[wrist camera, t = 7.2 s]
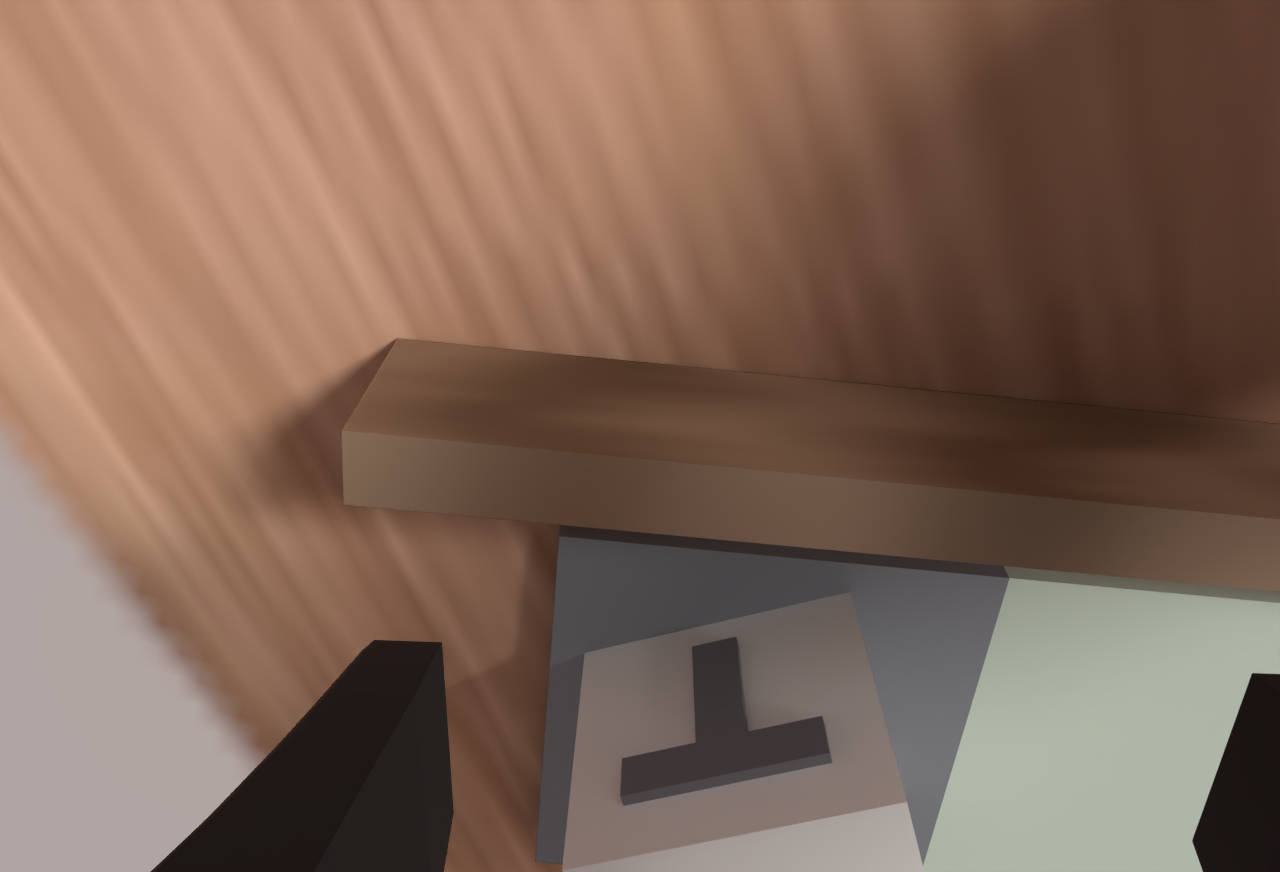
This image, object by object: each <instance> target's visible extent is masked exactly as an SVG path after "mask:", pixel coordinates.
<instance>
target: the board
mask: <svg viewBox="0 0 1280 872" xmlns="http://www.w3.org/2000/svg"><path fill="white" fill-rule="evenodd" d="M848 592H850V593H851V596H852V600H853V604H854V608H855V611H856V615H857V619H858V622H859V626H860V630H861V634H862V637H863V641H864V645H865V648H866V652H867V656H868V659H869V663H870V667H871V671H872V674H873V678H874V682H875V685H876V689H877V693H878V696H879V700H880V704H881V708H882V711H883V715H884V719H885V722H886V726H887V730H888V733H889V737H890V741H891V745H892V748H893V752H894V756H895V759H896V763H897V767H898V770H899V774H900V778H901V782H902V785H903V789H904V793H905V796H906V800H907V804H908V808H909V812H910V816H911V820H912V824H913V828H914V832H915V836H916V840H917V844H918V848H919V852H920V856H921V860H922V864H923V868H924V872H1203V871H1202V868H1201V865H1200V862H1199V859H1198V856H1197V854H1196V851H1195V848H1194V845H1193V842H1192V840H1193V837H1194V834H1195V831H1196V828H1197V826H1198V823H1199V820H1200V817H1201V814H1202V812H1203V809H1204V806H1205V803H1206V800H1207V798H1208V795H1209V792H1210V789H1211V786H1212V784H1213V781H1214V778H1215V775H1216V772H1217V770H1218V767H1219V764H1220V761H1221V759H1222V756H1223V753H1224V750H1225V747H1226V745H1227V742H1228V739H1229V736H1230V733H1231V731H1232V728H1233V725H1234V722H1235V719H1236V717H1237V714H1238V711H1239V708H1240V705H1241V703H1242V700H1243V697H1244V694H1245V691H1246V689H1247V686H1248V683H1249V680H1250V677H1251V675H1252V673H1264V674H1280V592H1277V591H1266V590H1256V589H1245V588H1234V587H1223V586H1213V585H1202V584H1191V583H1180V582H1170V581H1159V580H1148V579H1137V578H1127V577H1116V576H1105V575H1094V574H1084V573H1073V572H1062V571H1051V570H1041V569H1030V568H1019V567H1008V566H998V565H987V564H976V563H965V562H955V561H944V560H933V559H922V558H911V557H901V556H890V555H879V554H868V553H858V552H847V551H836V550H825V549H815V548H804V547H793V546H782V545H772V544H761V543H750V542H739V541H729V540H718V539H707V538H696V537H686V536H675V535H664V534H653V533H643V532H632V531H621V530H610V529H600V528H589V527H578V526H567V525H561V529H560V535H559V547H558V560H557V574H556V587H555V601H554V614H553V628H552V641H551V655H550V668H549V682H548V695H547V709H546V722H545V736H544V749H543V763H542V776H541V790H540V803H539V817H538V830H537V844H536V857H535V862H543V863H555V864H563V855H564V846H565V836H566V827H567V817H568V807H569V798H570V788H571V779H572V769H573V760H574V750H575V740H576V731H577V721H578V712H579V702H580V692H581V683H582V673H583V664H584V654H585V653H586V652H591V651H595V650H599V649H604V648H608V647H612V646H617V645H621V644H626V643H630V642H634V641H639V640H643V639H647V638H652V637H656V636H660V635H665V634H669V633H674V632H678V631H682V630H687V629H691V628H695V627H700V626H704V625H709V624H713V623H717V622H722V621H726V620H730V619H735V618H739V617H743V616H748V615H752V614H757V613H761V612H765V611H770V610H774V609H778V608H783V607H787V606H792V605H796V604H800V603H805V602H809V601H813V600H818V599H822V598H826V597H831V596H835V595H840V594H844V593H848Z"/></svg>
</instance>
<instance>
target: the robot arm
mask: <svg viewBox="0 0 1280 872" xmlns="http://www.w3.org/2000/svg"><path fill="white" fill-rule="evenodd" d="M452 818H453V798H452V783H451V769H450V754H449V739H448V725H447V710H446V696H445V681H444V666H443V652H442V643H439V642H412V641H385V640H374V641H373V642H371V643H370V644H369V645H368V646H367V647H366V648H364V649H363V650H362V651H361V652H360V654H359V655H358V656H357V657H356V658H355V659H354V660H353V662H352V663H351V664H350V665H349V666H348V667H347V668H346V669H345V671H344V672H343V673H342V674H341V675H340V676H339V677H338V679H337V680H336V681H335V682H334V683H333V684H332V685H331V687H330V688H329V689H328V690H327V691H326V692H325V693H324V694H323V696H322V697H321V698H320V699H319V700H318V701H317V702H316V703H315V705H314V706H313V707H312V708H311V709H310V710H309V711H308V712H307V714H306V715H305V716H304V717H303V718H302V719H301V720H300V721H299V722H298V723H297V724H296V726H295V727H294V728H293V729H292V730H291V731H290V732H289V733H288V734H287V735H286V737H285V738H284V739H283V740H282V741H281V742H280V743H279V744H278V745H277V746H276V747H275V748H274V750H273V751H272V752H271V753H270V754H269V755H268V756H267V757H266V758H265V759H264V760H263V761H262V762H261V763H260V764H259V765H258V766H257V767H256V768H255V769H254V770H253V771H252V772H251V773H250V774H249V776H248V777H247V778H246V779H245V780H244V781H243V782H242V783H241V784H240V785H239V786H238V787H237V788H236V789H235V790H234V791H233V792H232V793H231V794H230V796H228V797H227V798H226V799H225V800H224V802H223V803H222V804H221V805H220V806H219V807H218V808H217V809H216V810H215V811H214V812H213V813H212V814H211V815H210V816H209V817H208V818H207V819H206V820H205V821H204V822H203V823H202V824H201V825H200V826H199V827H198V828H196V829H195V830H194V831H193V832H192V833H191V834H190V835H189V836H188V837H187V838H186V839H185V840H184V841H183V842H182V843H181V844H180V845H178V846H177V847H176V848H175V849H174V850H173V851H172V852H171V853H170V854H169V855H168V856H167V857H166V858H165V859H164V860H163V861H162V862H161V863H160V864H158V865H157V866H156V867H155V868H154V869H153V870H152V871H151V872H444V866H445V860H446V854H447V848H448V842H449V836H450V830H451V824H452ZM1192 842H1193V845H1194V848H1195V851H1196V854H1197V856H1198V859H1199V862H1200V865H1201V868H1202V871H1203V872H1280V674H1264V673H1252V675H1251V677H1250V680H1249V683H1248V686H1247V689H1246V691H1245V694H1244V697H1243V700H1242V703H1241V705H1240V708H1239V711H1238V714H1237V717H1236V719H1235V722H1234V725H1233V728H1232V731H1231V733H1230V736H1229V739H1228V742H1227V745H1226V747H1225V750H1224V753H1223V756H1222V759H1221V761H1220V764H1219V767H1218V770H1217V772H1216V775H1215V778H1214V781H1213V784H1212V786H1211V789H1210V792H1209V795H1208V798H1207V800H1206V803H1205V806H1204V809H1203V812H1202V814H1201V817H1200V820H1199V823H1198V826H1197V828H1196V831H1195V834H1194V837H1193V840H1192Z"/></svg>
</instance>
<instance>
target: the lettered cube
mask: <svg viewBox="0 0 1280 872" xmlns="http://www.w3.org/2000/svg"><path fill="white" fill-rule="evenodd" d="M562 872H924V868H923V864H922V860H921V856H920V852H919V848H918V844H917V840H916V836H915V832H914V828H913V824H912V820H911V816H910V812H909V808H908V804H907V800H906V796H905V793H904V789H903V785H902V782H901V778H900V774H899V770H898V767H897V763H896V759H895V756H894V752H893V748H892V745H891V741H890V737H889V733H888V730H887V726H886V722H885V719H884V715H883V711H882V708H881V704H880V700H879V696H878V693H877V689H876V685H875V682H874V678H873V674H872V671H871V667H870V663H869V659H868V656H867V652H866V648H865V645H864V641H863V637H862V634H861V630H860V626H859V622H858V619H857V615H856V611H855V608H854V604H853V600H852V596H851V593H850V592H848V593H844V594H840V595H835V596H831V597H826V598H822V599H818V600H813V601H809V602H805V603H800V604H796V605H792V606H787V607H783V608H778V609H774V610H770V611H765V612H761V613H757V614H752V615H748V616H743V617H739V618H735V619H730V620H726V621H722V622H717V623H713V624H709V625H704V626H700V627H695V628H691V629H687V630H682V631H678V632H674V633H669V634H665V635H660V636H656V637H652V638H647V639H643V640H639V641H634V642H630V643H626V644H621V645H617V646H612V647H608V648H604V649H599V650H595V651H591V652H586V653H585V654H584V664H583V673H582V683H581V692H580V702H579V712H578V721H577V731H576V740H575V750H574V760H573V769H572V779H571V788H570V798H569V807H568V817H567V827H566V836H565V846H564V855H563V865H562Z"/></svg>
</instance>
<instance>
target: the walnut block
mask: <svg viewBox="0 0 1280 872" xmlns="http://www.w3.org/2000/svg"><path fill="white" fill-rule="evenodd" d="M341 433H342V465H343V497H344V505H352V506H363V507H374V508H384V509H395V510H406V511H417V512H427V513H438V514H449V515H460V516H470V517H481V518H492V519H503V520H513V521H524V522H535V523H546V524H556V525H567V526H578V527H589V528H600V529H610V530H621V531H632V532H643V533H653V534H664V535H675V536H686V537H696V538H707V539H718V540H729V541H739V542H750V543H761V544H772V545H782V546H793V547H804V548H815V549H825V550H836V551H847V552H858V553H868V554H879V555H890V556H901V557H911V558H922V559H933V560H944V561H955V562H965V563H976V564H987V565H998V566H1008V567H1019V568H1030V569H1041V570H1051V571H1062V572H1073V573H1084V574H1094V575H1105V576H1116V577H1127V578H1137V579H1148V580H1159V581H1170V582H1180V583H1191V584H1202V585H1213V586H1223V587H1234V588H1245V589H1256V590H1266V591H1277V592H1280V424H1273V423H1262V422H1252V421H1242V420H1232V419H1221V418H1211V417H1201V416H1190V415H1180V414H1170V413H1159V412H1149V411H1139V410H1129V409H1118V408H1108V407H1098V406H1087V405H1077V404H1067V403H1056V402H1046V401H1036V400H1026V399H1015V398H1005V397H995V396H984V395H974V394H964V393H953V392H943V391H933V390H922V389H912V388H902V387H892V386H881V385H871V384H861V383H850V382H840V381H830V380H819V379H809V378H799V377H789V376H778V375H768V374H758V373H747V372H737V371H727V370H716V369H706V368H696V367H686V366H675V365H665V364H655V363H644V362H634V361H624V360H613V359H603V358H593V357H583V356H572V355H562V354H552V353H541V352H531V351H521V350H510V349H500V348H490V347H479V346H469V345H459V344H449V343H438V342H428V341H418V340H407V339H397V340H396V341H395V343H394V345H393V346H392V348H391V350H390V351H389V353H388V354H387V356H386V358H385V359H384V361H383V363H382V364H381V366H380V368H379V369H378V371H377V373H376V374H375V376H374V378H373V379H372V381H371V382H370V384H369V386H368V387H367V389H366V391H365V392H364V394H363V396H362V397H361V399H360V401H359V402H358V404H357V406H356V407H355V409H354V411H353V412H352V414H351V415H350V417H349V419H348V420H347V422H346V424H345V425H344V427H343V429H342V430H341Z"/></svg>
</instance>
